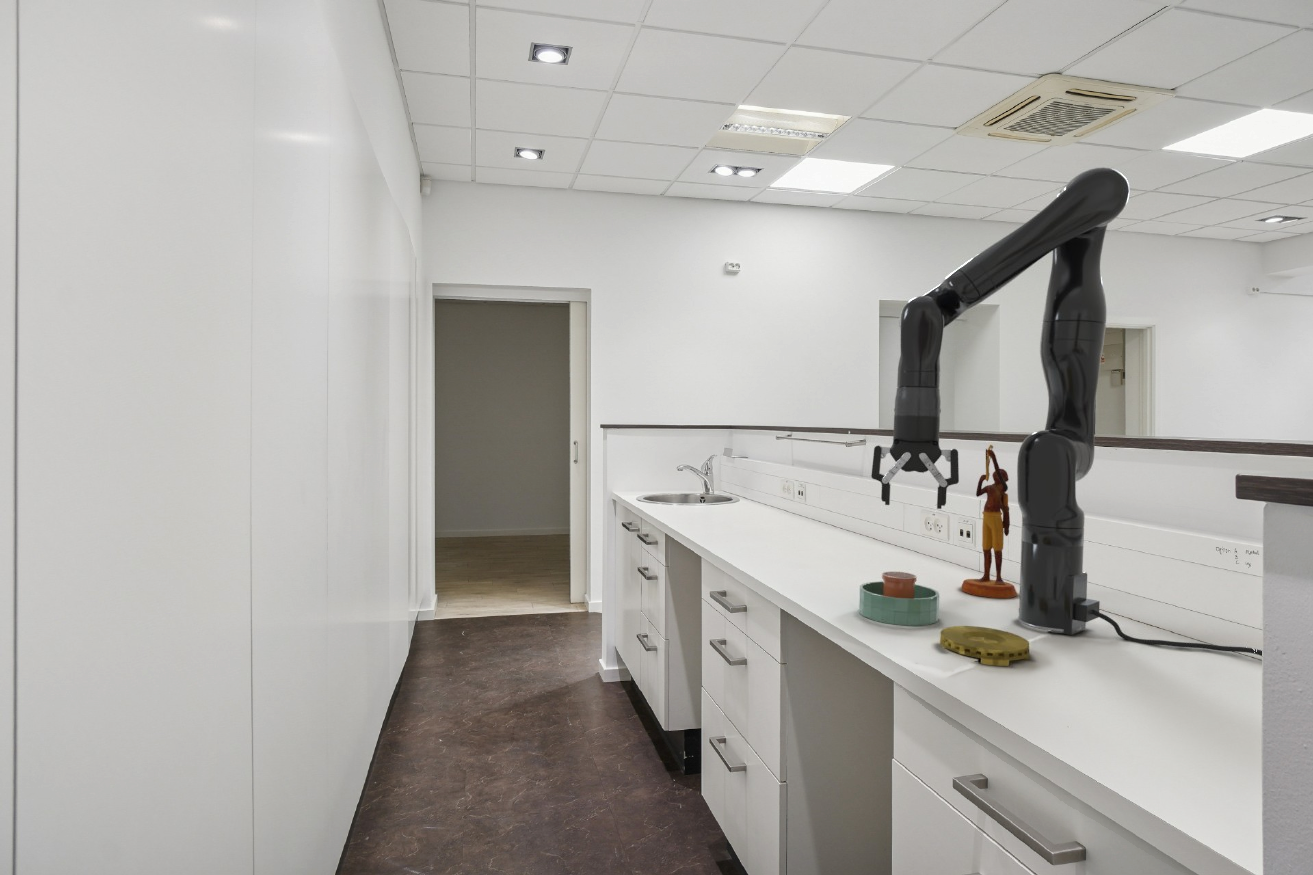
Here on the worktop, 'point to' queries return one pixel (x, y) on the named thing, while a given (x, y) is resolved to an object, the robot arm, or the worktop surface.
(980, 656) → the olive yellow slotted disc
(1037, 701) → the worktop surface
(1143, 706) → the worktop surface
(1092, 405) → the robot arm
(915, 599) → the bowl
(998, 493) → the sculpture
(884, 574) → the orange cylinder
